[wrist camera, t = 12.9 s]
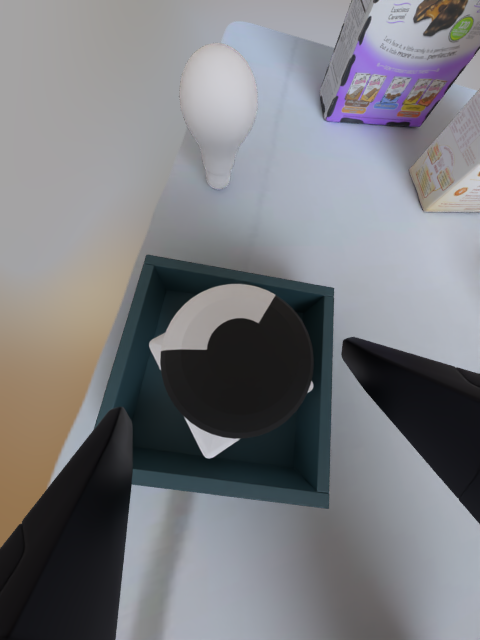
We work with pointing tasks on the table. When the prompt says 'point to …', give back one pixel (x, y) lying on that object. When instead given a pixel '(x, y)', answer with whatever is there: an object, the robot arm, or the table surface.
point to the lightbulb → (218, 107)
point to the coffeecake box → (452, 165)
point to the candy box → (398, 59)
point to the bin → (170, 425)
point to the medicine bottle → (234, 364)
